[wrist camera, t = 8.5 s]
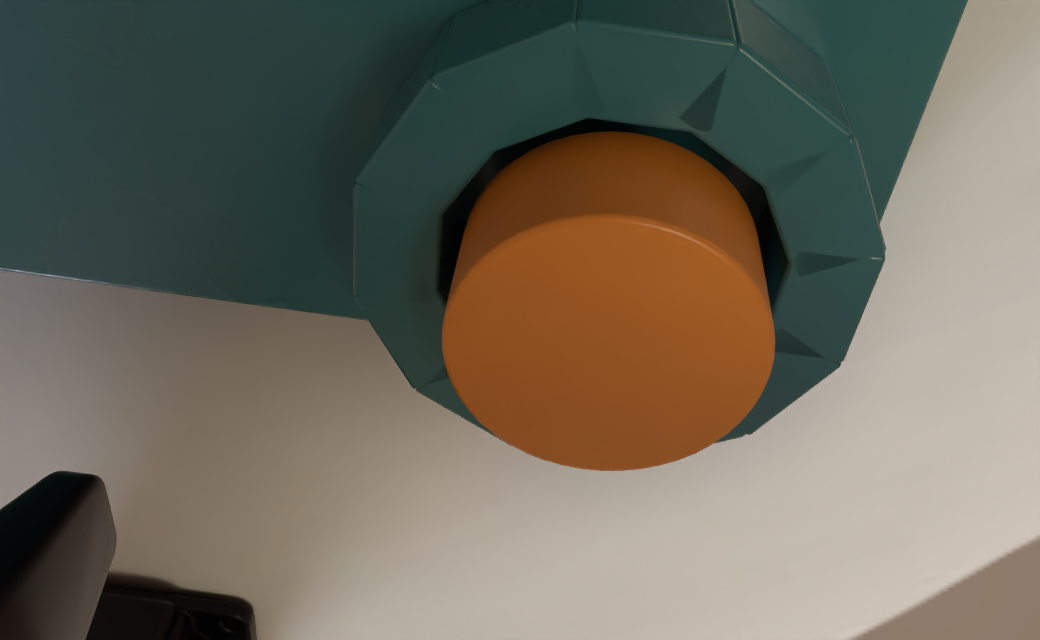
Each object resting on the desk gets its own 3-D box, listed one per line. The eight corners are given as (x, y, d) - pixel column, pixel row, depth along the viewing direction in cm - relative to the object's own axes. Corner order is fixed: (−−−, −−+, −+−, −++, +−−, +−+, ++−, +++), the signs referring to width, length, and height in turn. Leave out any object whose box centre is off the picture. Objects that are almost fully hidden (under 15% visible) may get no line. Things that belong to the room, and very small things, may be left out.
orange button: (720, 388, 15) (731, 492, 13) (454, 352, 15) (432, 451, 13) (794, 151, 12) (818, 244, 11) (473, 108, 12) (450, 193, 11)
